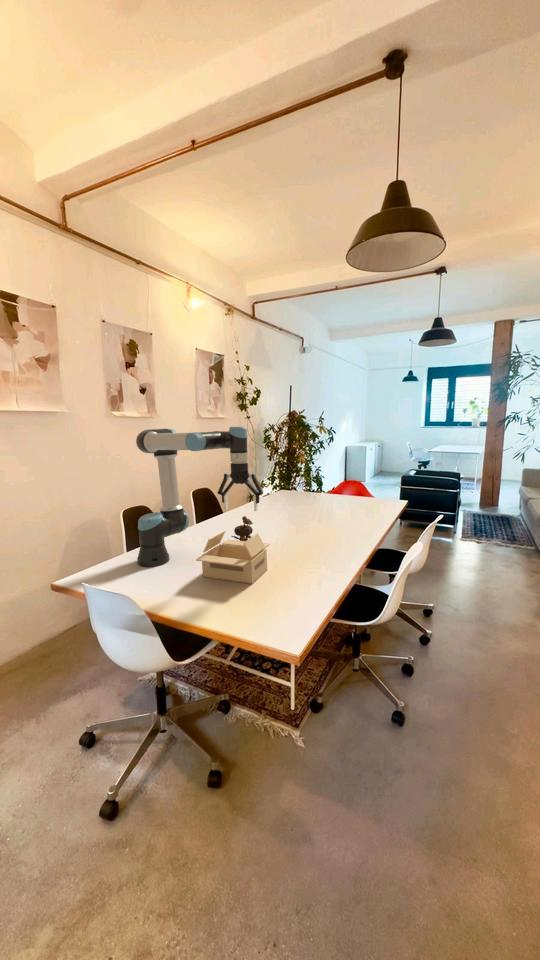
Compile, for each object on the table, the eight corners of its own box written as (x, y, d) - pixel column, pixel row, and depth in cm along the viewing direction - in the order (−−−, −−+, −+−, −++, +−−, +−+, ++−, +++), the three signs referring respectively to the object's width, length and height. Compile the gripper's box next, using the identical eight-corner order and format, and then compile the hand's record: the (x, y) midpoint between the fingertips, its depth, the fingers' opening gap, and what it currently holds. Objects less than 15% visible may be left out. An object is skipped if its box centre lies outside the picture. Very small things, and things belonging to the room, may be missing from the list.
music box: (262, 553, 196) (259, 516, 191) (248, 561, 187) (244, 522, 183) (240, 547, 205) (237, 512, 201) (226, 555, 197) (222, 518, 192)
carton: (195, 582, 161) (193, 559, 160) (227, 559, 187) (226, 539, 186) (246, 590, 152) (245, 565, 151) (272, 565, 178) (271, 544, 177)
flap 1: (203, 551, 166) (208, 538, 164) (219, 542, 179) (224, 530, 177) (204, 552, 166) (209, 539, 164) (220, 542, 179) (225, 530, 177)
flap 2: (250, 558, 158) (243, 543, 158) (264, 547, 170) (256, 533, 171) (251, 557, 157) (244, 542, 158) (265, 547, 170) (257, 533, 170)
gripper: (208, 463, 164) (211, 511, 167) (265, 463, 159) (266, 512, 162) (214, 461, 171) (217, 507, 174) (269, 461, 166) (270, 508, 169)
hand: (240, 510), depth 168 cm, fingers open, 13 cm apart
